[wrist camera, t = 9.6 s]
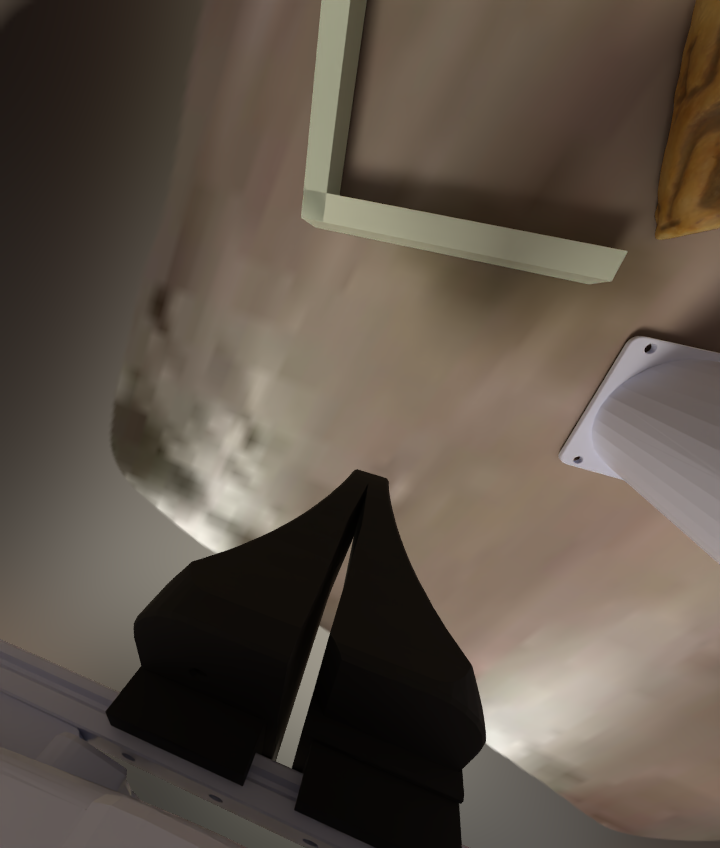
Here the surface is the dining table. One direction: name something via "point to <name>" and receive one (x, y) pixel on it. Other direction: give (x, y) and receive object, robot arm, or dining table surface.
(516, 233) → the pale grey flat frame
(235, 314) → the dining table surface
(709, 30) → the carved stone cylinder
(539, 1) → the dining table surface
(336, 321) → the dining table surface
